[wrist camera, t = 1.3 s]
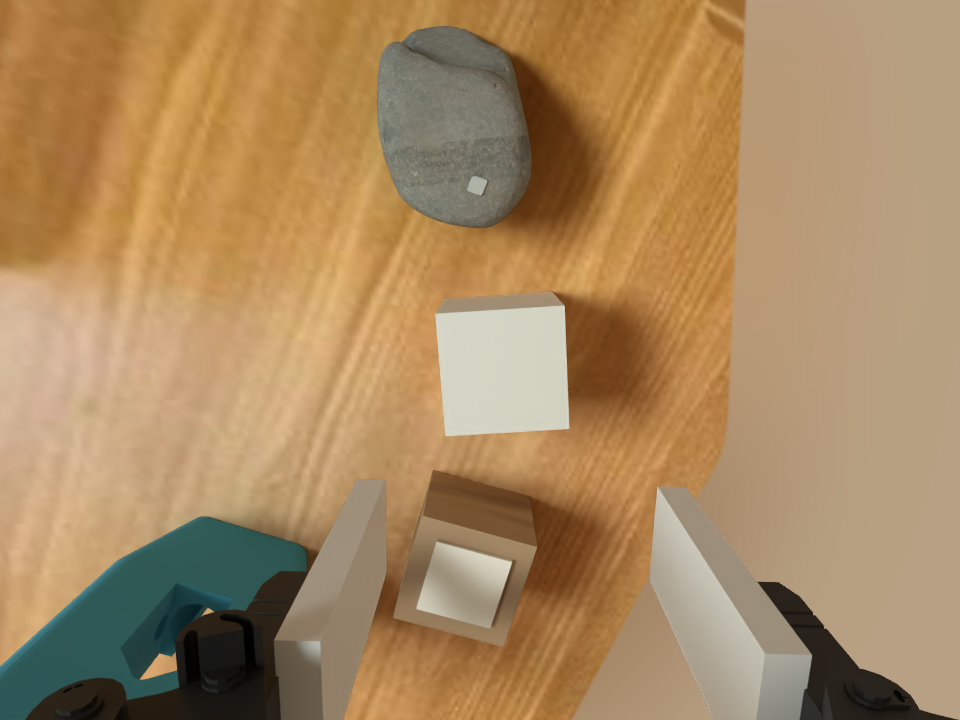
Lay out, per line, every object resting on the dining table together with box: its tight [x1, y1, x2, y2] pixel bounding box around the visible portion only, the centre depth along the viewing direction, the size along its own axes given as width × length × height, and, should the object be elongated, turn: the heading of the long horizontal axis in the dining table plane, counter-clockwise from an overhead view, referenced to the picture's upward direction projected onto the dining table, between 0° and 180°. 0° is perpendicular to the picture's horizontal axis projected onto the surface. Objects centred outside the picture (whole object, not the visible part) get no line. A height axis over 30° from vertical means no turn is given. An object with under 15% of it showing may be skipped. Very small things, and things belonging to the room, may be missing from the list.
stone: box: [377, 26, 532, 228], centre depth 36 cm, size 9×9×10 cm
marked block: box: [393, 470, 537, 647], centre depth 40 cm, size 7×7×7 cm
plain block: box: [435, 292, 569, 436], centre depth 38 cm, size 7×7×7 cm
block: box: [0, 517, 307, 720], centre depth 35 cm, size 12×5×20 cm, turn 72°
